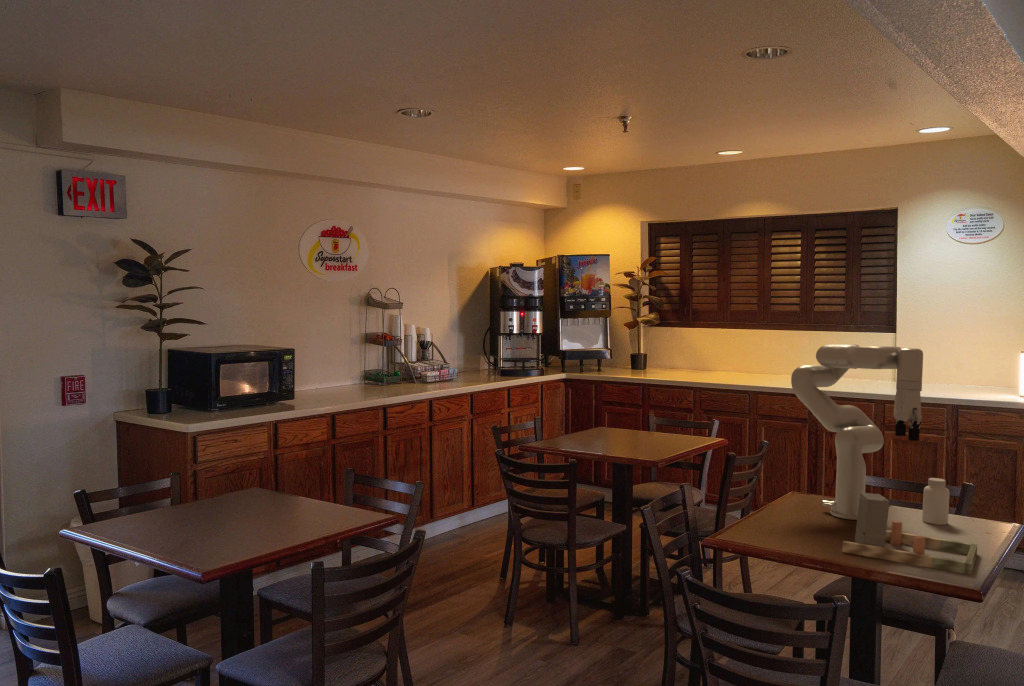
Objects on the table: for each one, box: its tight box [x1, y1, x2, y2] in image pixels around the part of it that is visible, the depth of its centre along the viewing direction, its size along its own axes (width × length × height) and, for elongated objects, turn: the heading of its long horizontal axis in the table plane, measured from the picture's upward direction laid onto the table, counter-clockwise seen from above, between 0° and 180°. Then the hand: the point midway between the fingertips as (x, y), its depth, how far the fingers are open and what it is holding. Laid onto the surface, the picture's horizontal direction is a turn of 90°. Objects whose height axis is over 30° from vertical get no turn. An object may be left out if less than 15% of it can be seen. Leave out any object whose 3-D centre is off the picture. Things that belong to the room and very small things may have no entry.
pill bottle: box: [921, 477, 951, 526], centre depth 277 cm, size 8×8×15 cm
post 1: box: [890, 520, 903, 547], centre depth 249 cm, size 3×3×7 cm
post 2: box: [912, 535, 926, 555], centre depth 232 cm, size 3×3×7 cm
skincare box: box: [854, 492, 890, 548], centre depth 246 cm, size 8×7×16 cm
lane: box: [841, 529, 978, 576], centre depth 241 cm, size 34×23×3 cm
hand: (906, 438), depth 263 cm, fingers open, 9 cm apart
